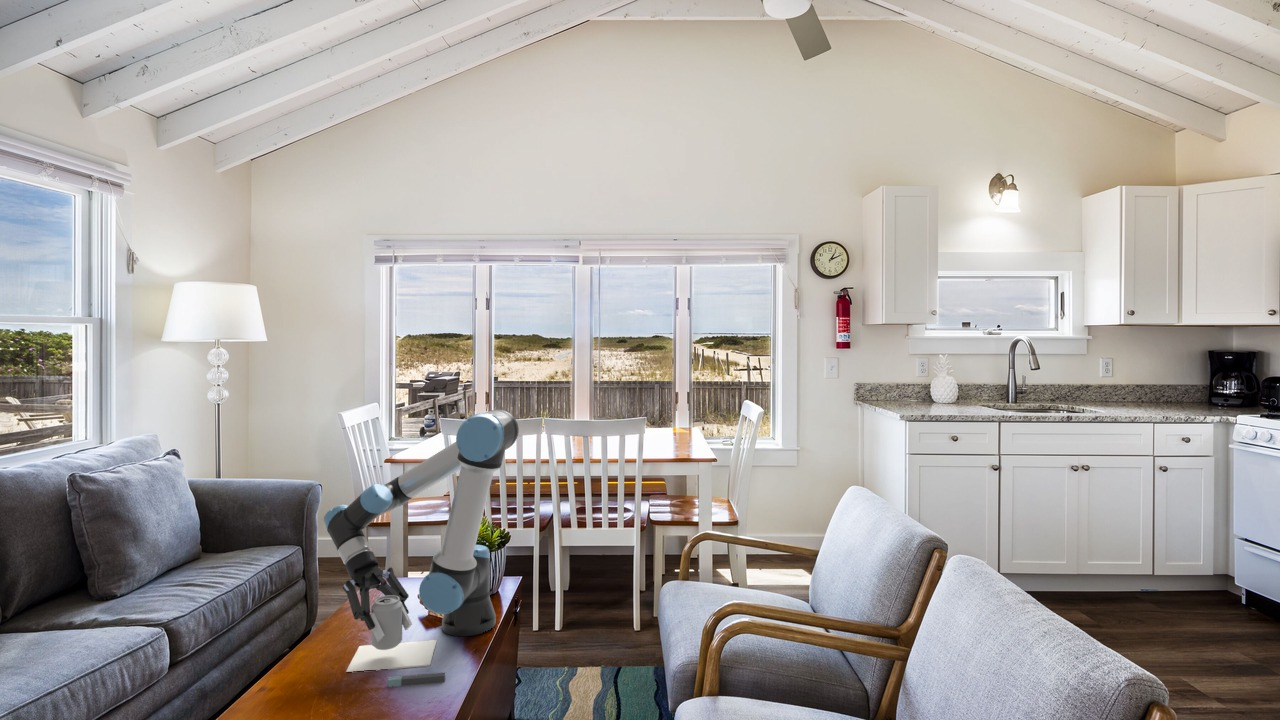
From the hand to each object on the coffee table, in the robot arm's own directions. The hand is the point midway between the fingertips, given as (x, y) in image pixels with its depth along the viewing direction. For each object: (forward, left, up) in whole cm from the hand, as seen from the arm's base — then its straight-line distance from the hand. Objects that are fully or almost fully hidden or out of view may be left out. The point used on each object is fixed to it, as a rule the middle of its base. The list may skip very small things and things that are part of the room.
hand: (395, 632), depth 169 cm
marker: (-7, +12, -8) cm, 16 cm away
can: (+3, -3, -4) cm, 6 cm away
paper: (+1, -3, -8) cm, 8 cm away
